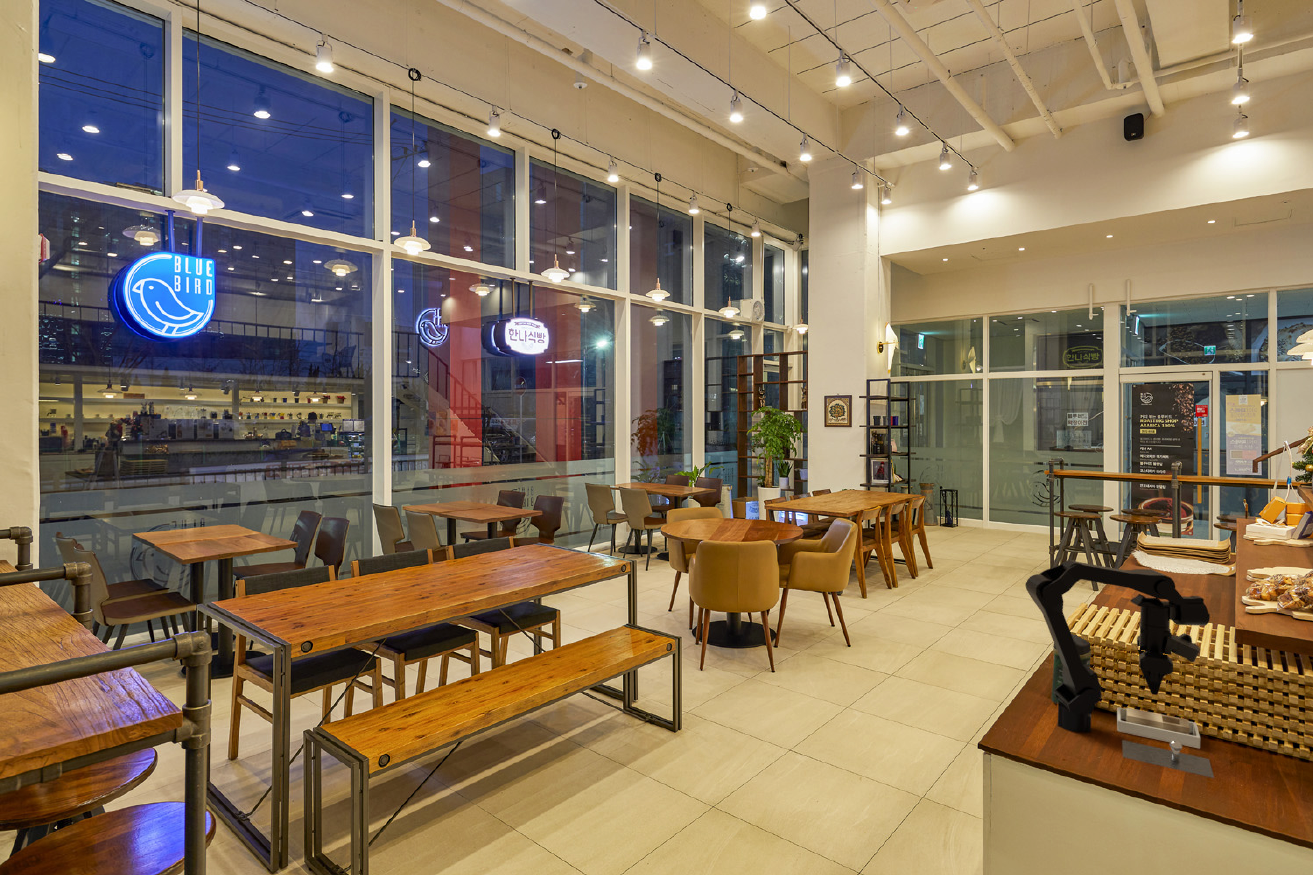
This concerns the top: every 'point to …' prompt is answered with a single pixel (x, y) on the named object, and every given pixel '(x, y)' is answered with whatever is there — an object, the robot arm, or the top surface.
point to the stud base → (1168, 757)
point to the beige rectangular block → (1157, 721)
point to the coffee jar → (1085, 656)
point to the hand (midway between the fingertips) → (1153, 687)
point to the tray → (1158, 731)
